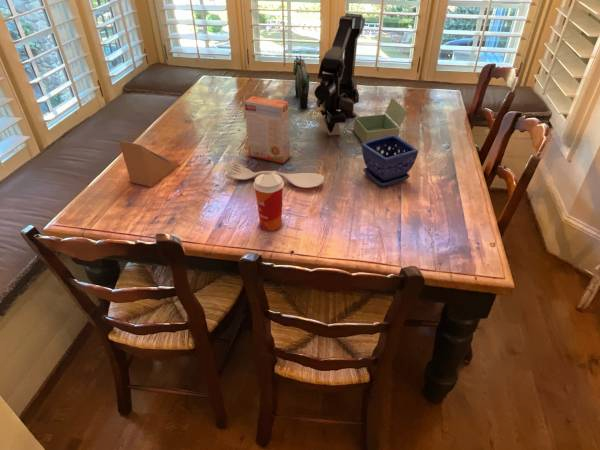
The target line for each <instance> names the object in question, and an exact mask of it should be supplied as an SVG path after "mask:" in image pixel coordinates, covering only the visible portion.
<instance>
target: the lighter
mask: <svg viewBox="0 0 600 450" xmlns="http://www.w3.org/2000/svg"><path fill="white" fill-rule="evenodd" d="M324 116H325V115H323V116H322V115H321V119H322V121H323V123H324V125H325V126H327V124H326V121H325V118H324ZM340 127H341V123H335V125H334V128H333V131H332V132H329V130H328V129H327V130H328V131H327V134H328V136H340V131H341V130H340Z"/></svg>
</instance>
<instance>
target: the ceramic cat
mask: <svg viewBox="0 0 600 450" xmlns="http://www.w3.org/2000/svg"><path fill="white" fill-rule="evenodd" d="M292 72H293V75H295V78H294V79H295V80H294V91H295V92H294V93H295V98H298V102H299V109H300V110H303V111H304V110H307V109H308V103H309V93H310V74H309V72H308V71H307V67H306V63H305V59H303V58H302V55H299V57H298V56H297V55H296V56H295V59H294V60H293V69H292Z"/></svg>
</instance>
